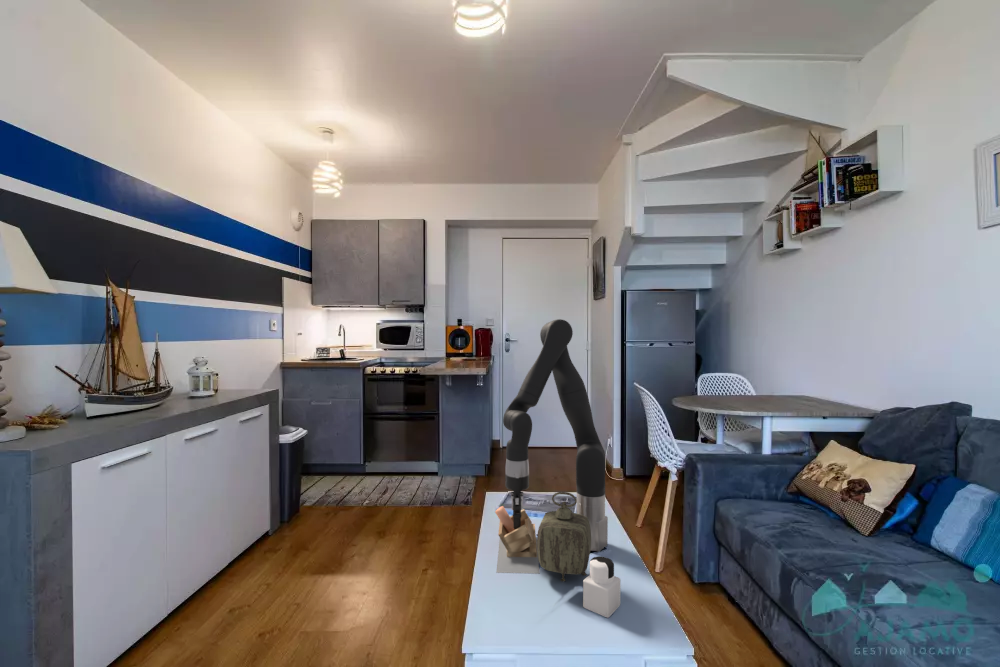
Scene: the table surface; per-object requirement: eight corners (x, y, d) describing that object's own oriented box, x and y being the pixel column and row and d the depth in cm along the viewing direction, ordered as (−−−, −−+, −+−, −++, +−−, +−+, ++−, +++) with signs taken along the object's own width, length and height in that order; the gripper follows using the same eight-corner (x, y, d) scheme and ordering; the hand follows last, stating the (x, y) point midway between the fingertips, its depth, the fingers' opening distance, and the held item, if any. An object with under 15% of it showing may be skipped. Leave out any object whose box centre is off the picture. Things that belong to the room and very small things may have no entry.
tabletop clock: (591, 575, 133) (591, 489, 133) (588, 593, 124) (588, 500, 124) (541, 568, 137) (541, 484, 137) (535, 585, 128) (535, 495, 128)
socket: (535, 537, 155) (535, 509, 155) (536, 557, 141) (536, 526, 141) (500, 536, 155) (500, 508, 155) (498, 556, 142) (498, 525, 142)
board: (539, 577, 132) (539, 573, 132) (496, 576, 133) (496, 572, 133) (536, 540, 155) (536, 536, 155) (499, 539, 156) (499, 536, 156)
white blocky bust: (595, 595, 124) (595, 550, 123) (620, 605, 119) (621, 559, 119) (582, 607, 118) (582, 561, 118) (608, 619, 114) (608, 570, 113)
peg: (516, 535, 151) (498, 507, 151) (523, 534, 149) (505, 505, 149) (511, 542, 148) (493, 513, 148) (518, 541, 146) (499, 511, 146)
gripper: (506, 465, 155) (506, 513, 156) (504, 479, 141) (504, 532, 141) (528, 466, 155) (528, 514, 155) (529, 480, 141) (529, 533, 141)
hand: (517, 522), depth 148 cm, fingers open, 8 cm apart
